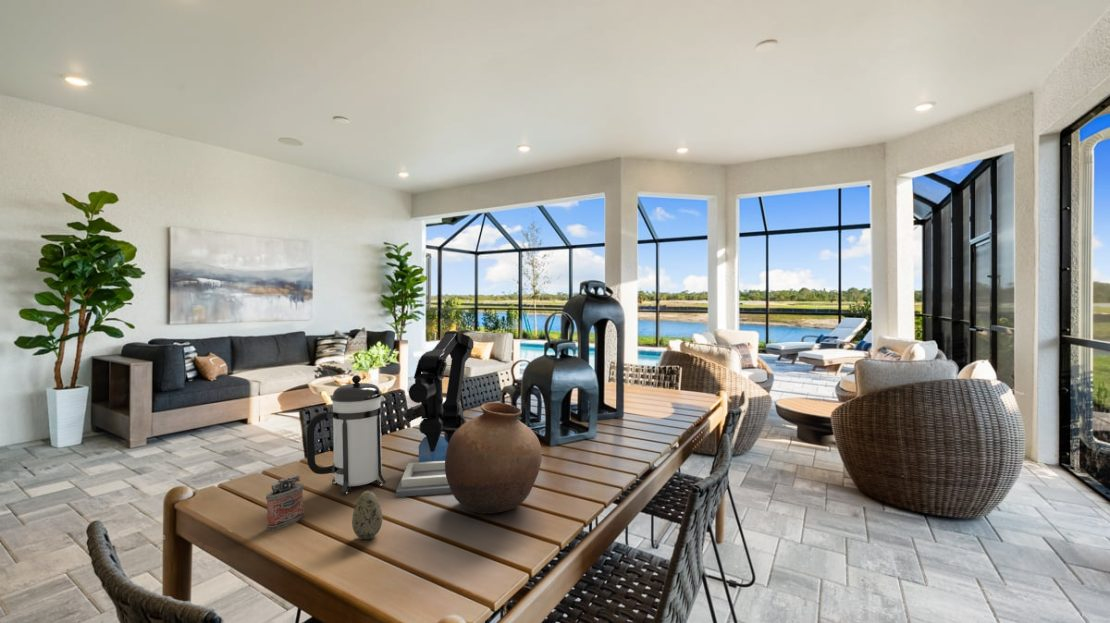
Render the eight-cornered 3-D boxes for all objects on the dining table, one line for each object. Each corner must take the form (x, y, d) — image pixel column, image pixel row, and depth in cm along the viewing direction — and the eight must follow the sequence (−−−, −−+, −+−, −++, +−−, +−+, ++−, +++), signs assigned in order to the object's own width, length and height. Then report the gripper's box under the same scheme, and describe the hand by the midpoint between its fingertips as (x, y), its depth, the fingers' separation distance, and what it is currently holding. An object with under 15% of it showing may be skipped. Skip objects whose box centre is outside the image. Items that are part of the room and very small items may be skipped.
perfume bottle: (448, 463, 148) (448, 424, 148) (433, 469, 143) (432, 429, 142) (434, 460, 151) (433, 422, 151) (419, 466, 146) (418, 426, 146)
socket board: (406, 472, 141) (405, 460, 141) (458, 468, 143) (458, 457, 143) (396, 497, 123) (395, 483, 123) (456, 492, 126) (455, 479, 125)
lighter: (271, 531, 105) (270, 486, 105) (263, 528, 107) (262, 483, 107) (307, 517, 112) (306, 474, 112) (299, 514, 114) (298, 472, 114)
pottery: (437, 498, 122) (435, 400, 122) (523, 483, 131) (522, 392, 131) (456, 538, 101) (454, 420, 101) (557, 517, 110) (556, 409, 110)
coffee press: (347, 472, 141) (345, 370, 140) (397, 476, 138) (395, 371, 137) (305, 496, 124) (303, 380, 123) (361, 501, 121) (359, 381, 120)
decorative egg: (361, 530, 105) (360, 485, 105) (387, 531, 105) (386, 486, 104) (346, 544, 99) (345, 496, 99) (374, 545, 99) (373, 497, 98)
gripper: (409, 391, 154) (410, 439, 155) (400, 403, 136) (401, 458, 136) (445, 389, 156) (445, 437, 157) (441, 401, 138) (442, 456, 138)
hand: (433, 446), depth 147 cm, fingers closed on perfume bottle, 9 cm apart
